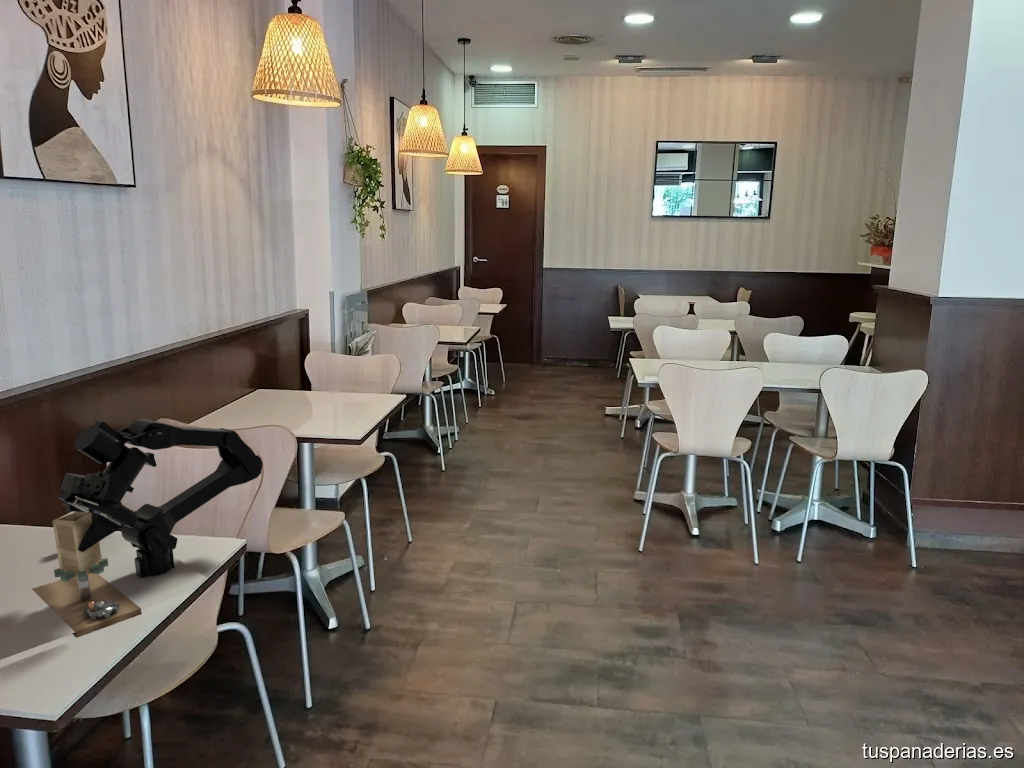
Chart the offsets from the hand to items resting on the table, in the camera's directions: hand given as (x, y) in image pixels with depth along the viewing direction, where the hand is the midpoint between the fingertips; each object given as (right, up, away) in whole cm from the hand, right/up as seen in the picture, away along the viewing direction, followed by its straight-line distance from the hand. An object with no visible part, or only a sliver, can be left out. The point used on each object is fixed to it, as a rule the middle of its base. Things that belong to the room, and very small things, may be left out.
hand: (70, 547), depth 144 cm
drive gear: (+7, -12, -2) cm, 14 cm away
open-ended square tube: (+1, -5, +2) cm, 6 cm away
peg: (+1, -11, +3) cm, 11 cm away
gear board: (+1, -12, +4) cm, 13 cm away
